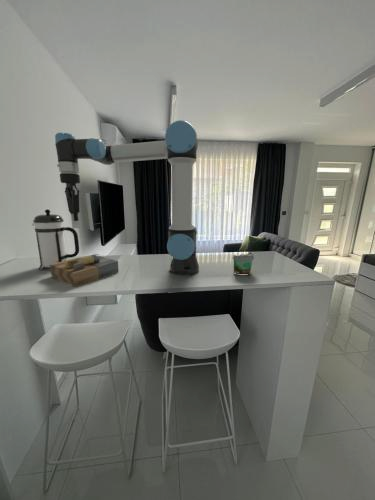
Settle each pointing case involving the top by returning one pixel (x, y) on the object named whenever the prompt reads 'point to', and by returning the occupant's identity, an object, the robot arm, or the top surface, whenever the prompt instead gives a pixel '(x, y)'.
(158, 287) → the top surface
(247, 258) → the food container
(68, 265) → the lock bar
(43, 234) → the coffee press
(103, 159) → the robot arm
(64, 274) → the slotted wooden block
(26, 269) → the top surface
